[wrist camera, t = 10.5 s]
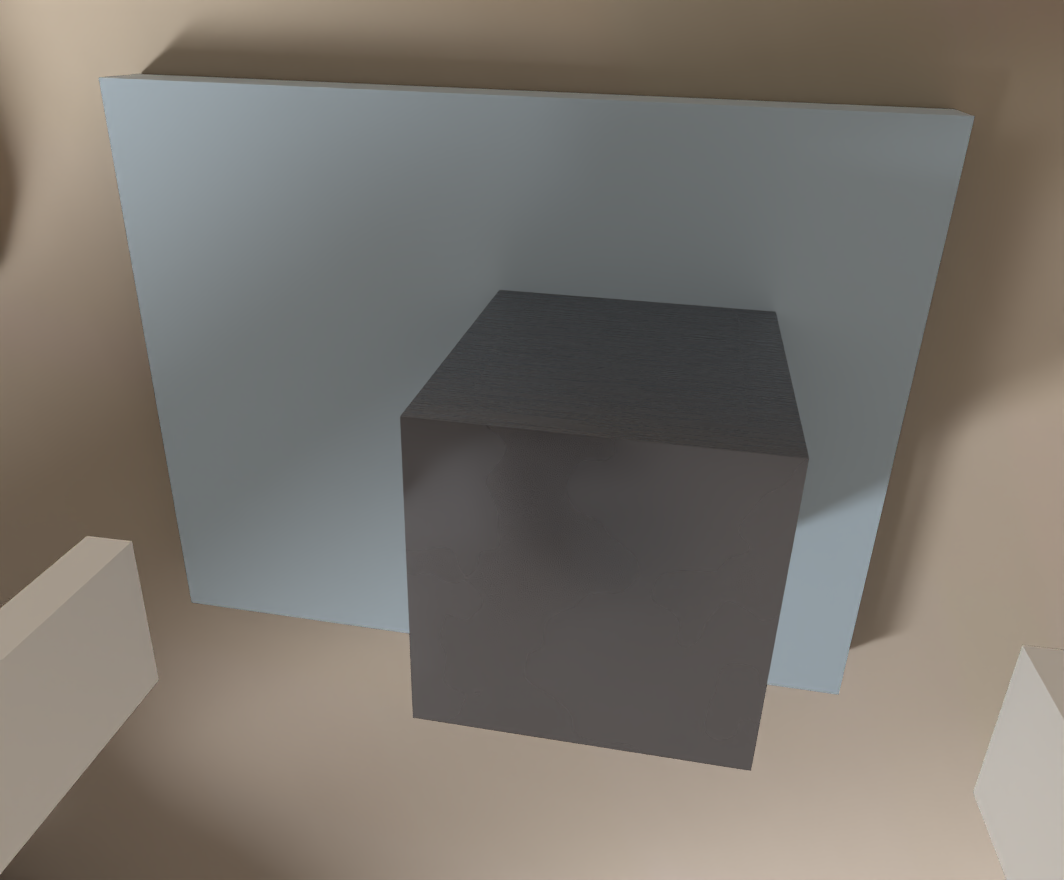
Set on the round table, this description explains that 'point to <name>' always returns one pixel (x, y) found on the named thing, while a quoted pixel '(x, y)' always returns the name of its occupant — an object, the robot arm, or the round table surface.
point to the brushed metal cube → (603, 523)
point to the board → (474, 279)
